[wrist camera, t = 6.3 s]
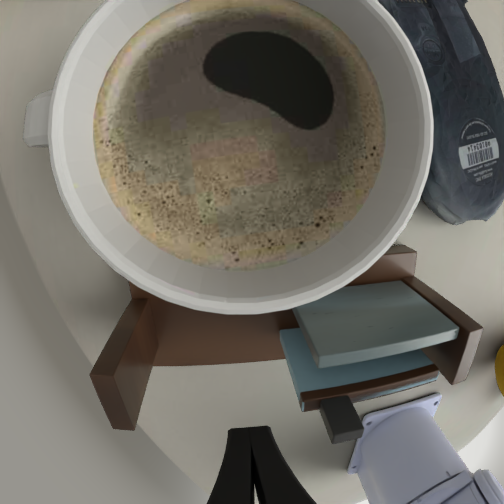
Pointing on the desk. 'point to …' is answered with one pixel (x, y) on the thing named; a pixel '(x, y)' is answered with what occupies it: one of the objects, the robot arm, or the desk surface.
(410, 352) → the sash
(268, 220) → the mug
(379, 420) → the robot arm
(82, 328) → the desk surface
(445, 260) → the desk surface
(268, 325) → the window
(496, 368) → the apple
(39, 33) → the desk surface
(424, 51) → the electronic device
